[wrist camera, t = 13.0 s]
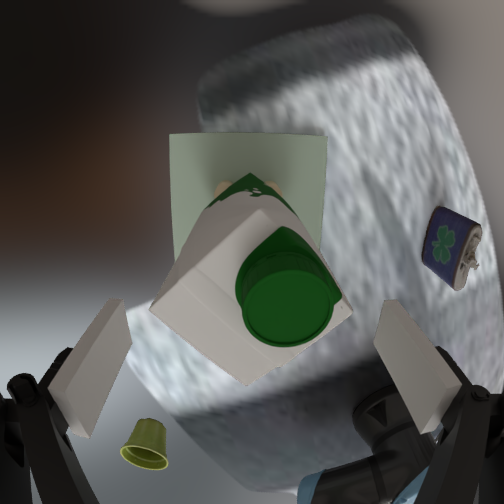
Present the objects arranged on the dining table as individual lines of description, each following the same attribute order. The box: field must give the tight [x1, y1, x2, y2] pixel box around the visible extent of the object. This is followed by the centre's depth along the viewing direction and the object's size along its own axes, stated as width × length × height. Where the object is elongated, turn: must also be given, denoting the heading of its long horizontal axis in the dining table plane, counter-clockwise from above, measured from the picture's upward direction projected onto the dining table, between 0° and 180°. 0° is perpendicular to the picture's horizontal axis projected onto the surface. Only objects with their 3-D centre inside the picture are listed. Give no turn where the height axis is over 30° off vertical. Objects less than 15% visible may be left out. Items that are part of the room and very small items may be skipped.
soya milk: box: [149, 172, 353, 386], centre depth 23 cm, size 9×9×20 cm
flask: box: [422, 206, 482, 291], centre depth 34 cm, size 9×3×11 cm, turn 173°
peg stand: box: [169, 132, 328, 262], centre depth 34 cm, size 18×18×6 cm
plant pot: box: [120, 418, 168, 470], centre depth 48 cm, size 9×9×9 cm
